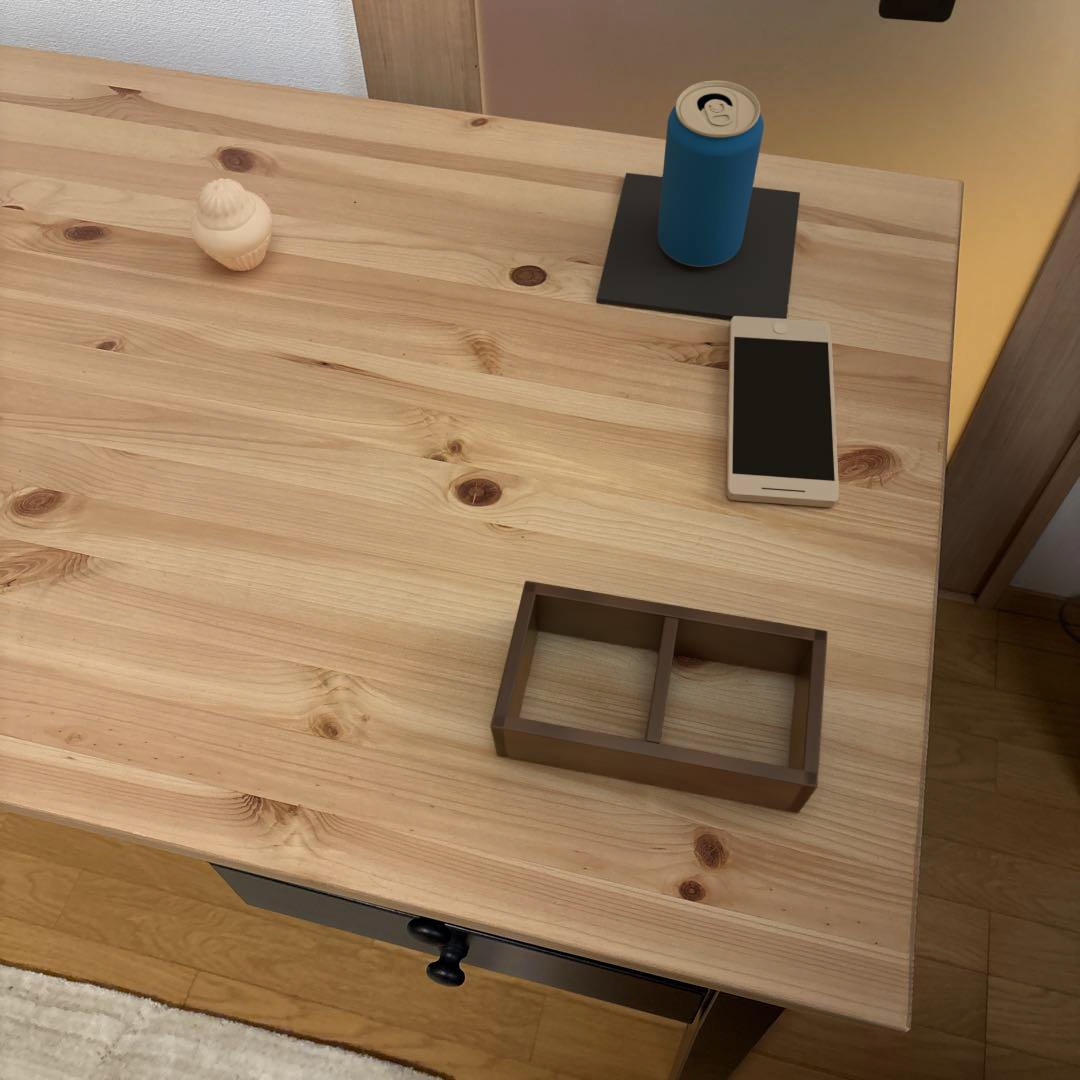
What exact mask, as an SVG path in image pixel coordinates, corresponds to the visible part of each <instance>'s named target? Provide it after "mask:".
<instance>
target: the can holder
mask: <svg viewBox="0 0 1080 1080" xmlns="http://www.w3.org/2000/svg"><path fill="white" fill-rule="evenodd" d="M539 632H544V633H549V634H555V635H561V636H567V637H572V638H577V639H585V640H590V641H595V642H602V643H607V644H613V645H619V646H625V647H630V648H634V649H636V648H637V649H643V650H648V651H653V652H657V657H656V664H655V669H654V676H653V683H652V690H651V697H650V702H649V709H648V715H647V722H646V727H645V733H644V740H643V739H637V738H631V737H625V736H620V735H616V734H609V733H605V732H604V733H603V732H599V731H595V730H589V729H582V728H578V727H577V728H576V727H572V726H568V725H561V724H556V723H550V722H545V721H540V720H534V719H528V718H524V717H520V715H521V711H522V706H523V703H524V702H523V701H524V697H525V692H526V688H527V683H528V680H529V675H530V672H531V671H530V670H531V666H532V662H533V657H534V653H535V649H536V644H537V640H538V634H539ZM828 634H829V632H828V631H827V630H825V629H820V628H819V629H818V628H813V627H806V626H801V625H796V624H790V623H789V624H788V623H782V622H777V621H770V620H765V619H759V618H753V617H746V616H741V615H734V614H729V613H722V612H718V611H713V610H712V611H711V610H705V609H699V608H693V607H686V606H681V605H674V604H669V603H668V604H667V603H665V602H664V603H663V602H657V601H651V600H646V599H639V598H634V597H633V598H632V597H627V596H621V595H615V594H609V593H604V592H598V591H592V590H586V589H580V588H573V587H566V586H561V585H556V584H549V583H543V582H538V581H532V580H525V581H524V585H523V588H522V592H521V597H520V601H519V605H518V609H517V613H516V617H515V621H514V626H513V630H512V634H511V638H510V642H509V647H508V650H507V655H506V659H505V663H504V666H503V667H504V668H503V671H502V676H501V680H500V684H499V689H498V691H497V697H496V701H495V705H494V710H493V713H492V717H491V721H490V731H491V735H492V740H493V744H494V750H495V755H496V757H499V758H504V759H510V760H515V761H521V762H527V763H531V764H536V765H541V766H547V767H553V768H558V769H562V770H569V771H574V772H579V773H584V774H589V775H593V776H599V777H605V778H610V779H615V780H620V781H626V782H631V783H637V784H641V785H645V786H650V787H651V786H652V787H657V788H662V789H669V790H673V791H678V792H684V793H689V794H695V795H699V796H704V797H709V798H714V799H721V800H726V801H730V802H731V801H732V802H735V803H741V804H746V805H751V806H752V805H753V806H756V807H762V808H768V809H772V810H779V811H783V812H788V813H794V814H800V812H801V811H802V810H803V808H804V806H805V805H806V804H807V802H808V801H809V800H810V798H811V797H812V795H814V793H815V792H816V790H817V788H818V787H819V786H818V784H819V767H820V753H821V752H820V751H821V738H822V723H823V709H824V693H825V680H826V679H825V677H826V665H827V663H826V661H827V649H828V648H827V647H828ZM674 655H675V656H676V655H677V656H682V657H689V658H694V659H698V660H699V659H701V660H705V661H712V662H717V663H723V664H727V665H734V666H740V667H744V668H752V669H757V670H763V671H769V672H775V673H780V674H786V675H791V676H794V677H795V678H794V691H793V702H792V712H791V713H792V714H791V715H792V716H791V725H790V726H791V727H790V737H789V739H790V740H789V751H788V762H787V763H788V764H787V766H784V765H783V766H782V765H778V764H772V763H767V762H761V761H757V760H756V761H755V760H750V759H745V758H739V757H735V756H729V755H724V754H718V753H712V752H708V751H702V750H696V749H690V748H685V747H680V746H676V745H675V746H674V745H669V744H664V743H661V740H662V734H663V727H664V722H665V721H664V720H665V714H666V706H667V700H668V694H669V687H670V682H671V681H670V679H671V674H672V673H671V672H672V667H673V660H674Z"/></svg>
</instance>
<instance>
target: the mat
mask: <svg viewBox="0 0 1080 1080" xmlns="http://www.w3.org/2000/svg"><path fill="white" fill-rule="evenodd" d="M662 178H663V176H660V175H659V176H658V175H650V174H640V173H633V172H626V173H625V175H624V180H623V184H622V187H621V192H620V197H619V201H618V205H617V210H616V214H615V218H614V222H613V225H612V226H613V227H612V231H611V234H610V239H609V243H608V247H607V250H606V251H607V252H606V256H605V260H604V264H603V268H602V272H601V277H600V281H599V286H598V290H597V294H596V298H595V299H596V301H595V302H596V304H603V305H612V306H619V307H628V308H634V309H635V308H636V309H641V310H649V311H650V310H651V311H658V312H663V313H664V312H665V313H671V314H672V313H673V314H681V315H687V316H694V317H695V316H697V317H704V318H712V319H720V320H727V321H731V319H732V318H733V317H734V316H744V317H761V318H778V319H788V308H789V298H790V291H791V290H790V289H791V279H792V271H793V261H794V255H795V253H794V251H795V243H796V234H797V226H798V225H797V224H798V216H799V207H800V197H801V192H800V191H793V190H783V189H774V188H767V187H757V186H753V188H752V193H751V198H750V204H749V209H748V214H747V220H746V225H745V230H744V235H743V241H742V244H741V247H740V249H739V250H738V252H737V253H736V254H735V255H734V256H733V257H732V258H730V259H729V260H727V261H725V262H723V263H720V264H717V265H713V266H705V267H696V266H690V265H686V264H683V263H680V262H678V261H676V260H674V259H673V258H671V257H670V256H668V255H667V254H666V253H665V252H664V251H663V249H662V248H661V246H660V244H659V242H658V236H657V232H658V222H659V211H660V200H661V189H662Z"/></svg>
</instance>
